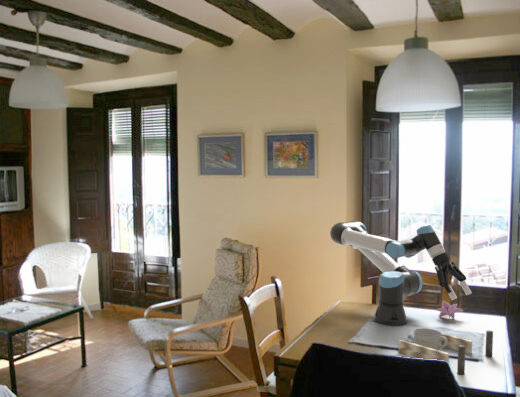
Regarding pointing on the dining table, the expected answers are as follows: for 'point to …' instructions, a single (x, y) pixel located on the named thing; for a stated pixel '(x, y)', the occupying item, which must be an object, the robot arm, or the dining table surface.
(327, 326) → the dining table surface
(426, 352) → the wooden bars
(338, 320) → the dining table surface
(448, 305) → the lily
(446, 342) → the teacup
